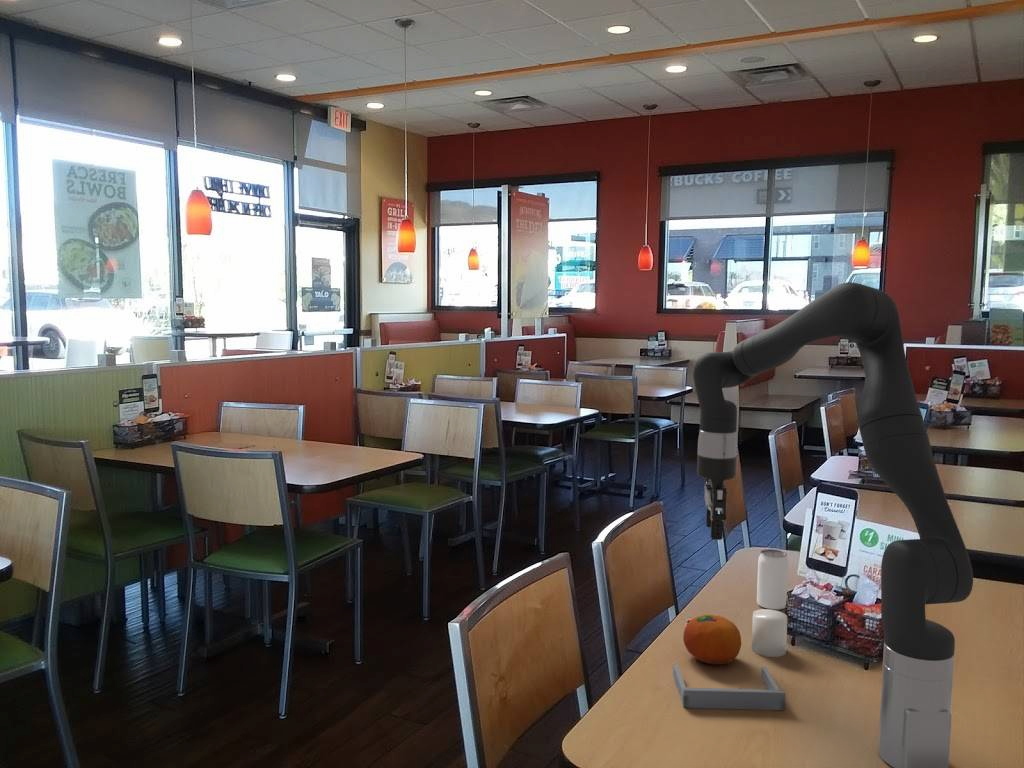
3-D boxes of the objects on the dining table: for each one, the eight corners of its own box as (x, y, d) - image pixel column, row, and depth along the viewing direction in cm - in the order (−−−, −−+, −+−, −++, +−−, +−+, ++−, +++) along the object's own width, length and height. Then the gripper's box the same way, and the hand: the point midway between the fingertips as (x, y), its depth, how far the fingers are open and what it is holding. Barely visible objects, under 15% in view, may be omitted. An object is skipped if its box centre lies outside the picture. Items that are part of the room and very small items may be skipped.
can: (756, 608, 182) (758, 555, 180) (756, 598, 188) (758, 547, 187) (787, 612, 180) (789, 558, 179) (786, 601, 186) (788, 550, 185)
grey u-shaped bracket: (784, 710, 137) (785, 692, 136) (683, 707, 137) (684, 690, 137) (765, 677, 149) (766, 661, 148) (673, 675, 149) (673, 659, 149)
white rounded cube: (790, 657, 157) (791, 622, 156) (756, 656, 157) (757, 621, 157) (780, 643, 163) (782, 609, 163) (748, 642, 164) (749, 608, 163)
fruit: (748, 656, 157) (749, 616, 156) (730, 677, 149) (731, 634, 148) (694, 643, 163) (695, 604, 162) (674, 662, 154) (675, 621, 154)
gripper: (741, 461, 155) (738, 544, 157) (731, 446, 169) (728, 523, 171) (701, 459, 156) (698, 542, 158) (694, 445, 170) (691, 522, 172)
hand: (714, 532), depth 164 cm, fingers open, 8 cm apart
